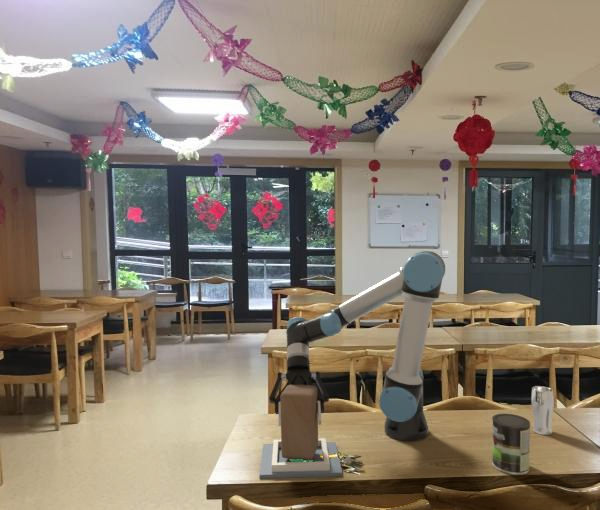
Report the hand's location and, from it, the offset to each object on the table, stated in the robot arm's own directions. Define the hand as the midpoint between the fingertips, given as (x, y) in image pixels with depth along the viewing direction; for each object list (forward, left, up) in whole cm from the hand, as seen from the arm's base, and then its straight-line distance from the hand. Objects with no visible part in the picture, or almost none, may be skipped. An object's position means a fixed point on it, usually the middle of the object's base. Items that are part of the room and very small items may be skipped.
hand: (299, 423), depth 140 cm
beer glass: (-81, -34, -13) cm, 88 cm away
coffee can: (-63, -7, -13) cm, 64 cm away
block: (0, -3, -10) cm, 11 cm away
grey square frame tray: (0, -3, -13) cm, 13 cm away
